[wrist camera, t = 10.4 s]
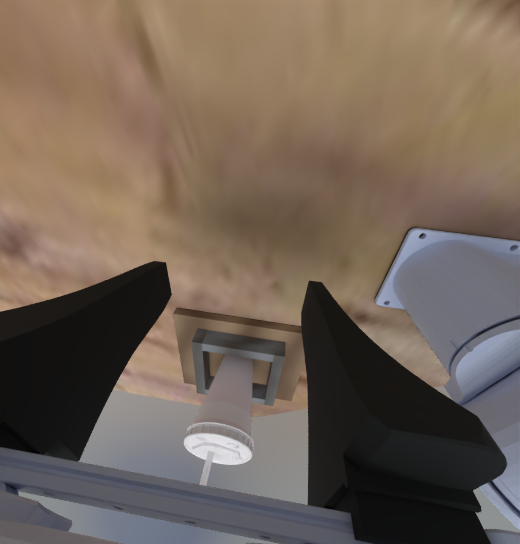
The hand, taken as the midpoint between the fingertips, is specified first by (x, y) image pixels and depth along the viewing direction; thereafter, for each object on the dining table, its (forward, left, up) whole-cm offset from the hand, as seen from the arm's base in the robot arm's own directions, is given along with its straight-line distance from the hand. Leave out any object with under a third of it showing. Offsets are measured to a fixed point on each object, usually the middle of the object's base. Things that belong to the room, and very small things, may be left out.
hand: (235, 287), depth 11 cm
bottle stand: (+1, +18, -10) cm, 21 cm away
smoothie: (+1, +18, -9) cm, 20 cm away
